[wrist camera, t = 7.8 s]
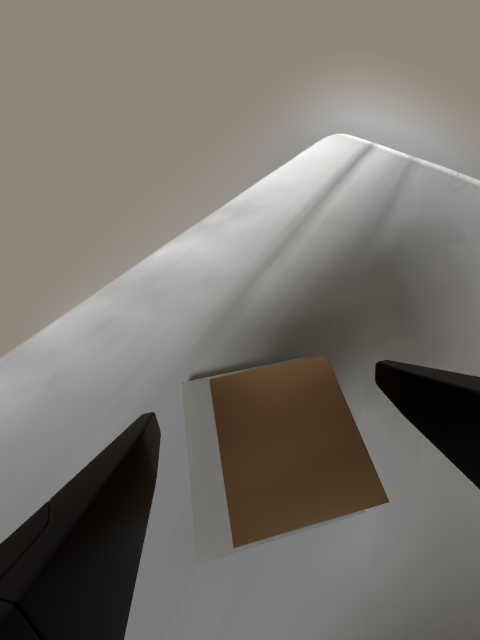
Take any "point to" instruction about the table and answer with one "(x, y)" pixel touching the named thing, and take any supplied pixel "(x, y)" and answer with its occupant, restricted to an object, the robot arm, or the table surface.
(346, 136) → the table surface
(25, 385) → the table surface
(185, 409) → the coaster
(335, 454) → the walnut block
